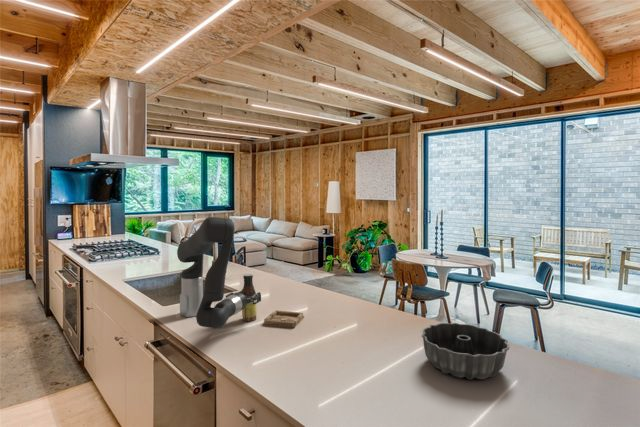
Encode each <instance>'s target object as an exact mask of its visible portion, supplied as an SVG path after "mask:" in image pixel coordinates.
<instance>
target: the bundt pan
mask: <svg viewBox="0 0 640 427" xmlns="http://www.w3.org/2000/svg"><path fill="white" fill-rule="evenodd" d="M421 337H422V340H423V348H424V354H425V356H426V358H427V360H428V361H429V362H430V363H431V364H432V366H433V367H435V368H437V369H438V370H441V372H442V373H443V374H446V375H448V373H449V374H451V375H452V376H453V377H455V378H464V377H465V378H466V379H467V380H469V381H471V380H473V379H476V380H477V379H478V380H484V379H487V378H493V377H496V376H497V375H498V374H499V372H500V371H501V370H502V369H503V367H504V364H505V360H506V358H507V357H506V356H507V352H508V351H509V350H510V344H509V343H508V339H505V338H503V336H502V335H501V334H500V333H497V332H495V331H492V330H489V329H488V328H485V327H479V326H476V325H473V324H467V323H459V322H458V323H457V322H452V323H448V322H441V323H436V324H430V325H428V327H425V328H423V329H422V334H421Z"/></svg>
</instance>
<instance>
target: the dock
mask: <svg viewBox="0 0 640 427" xmlns="http://www.w3.org/2000/svg"><path fill="white" fill-rule="evenodd" d="M304 318H305V315H304V312H296V311H287V310H275V311H272V312H271V313H270V314H269V315H268V316H266V317H265V318H264V319H263V324H262V325H263V326H269V327H270V326H271V327H279V328H287V329H290V328H291V329H295V328H296V327H297V326H298V325H299V324H300V323H301V322H302V320H304Z"/></svg>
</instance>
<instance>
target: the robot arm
mask: <svg viewBox="0 0 640 427" xmlns="http://www.w3.org/2000/svg"><path fill="white" fill-rule="evenodd" d="M234 236H235V223H234V221H233V219H232V218H230V217H229V218H228V217H218V216H217V217H216V216H208V217H206V218H204V220H203V221H202V223H201V224H200V226H199V228H198V229H197V230H196V231H194V233H193V234H191V236H189V237H188V238H187V239H186V240H185V241H182V242H181V243H179V245H178V247H177V250H176V255H177V259H178V260H179V261H180V262H181V263H193V264H192V265H191V266H189V267H187V268H185V269H183V270H181V274H180V275H181V277H180V278H181V280H180V281H181V285H180V286H181V293H179V315H180V316H183V317H185V318H191V317H195V319H196V323H197V325H199V326H200V327H204V328H210V329H217V330H218V329H221V328H223V327H224V326H226V323H227V322H228V320H229V318H231V317H232V316H234V315H237V314H238V313H239V312H242V309H244V308H245V306H246V305H247V304H248V303H252V302H253V304H256V305H257V304H258V303H260V302H262V293H261V292H259V291H258V292H257V293H256V294H254V295H253V294H248V295H246V294H245V295H243V294H242V290H240V291H236V292H230V293H228V294H227V295H225V283H226V274H227V269H228V264H229V261H230V258H231V257H230V256H231V251H232V246H233V240H234ZM217 243H218V244H221V249H220V251H219V254H218V256H217V257H216V259H215V261H214V262H213V263H212V264H211V266H210V268H209V269H208V270H207V273H206V275H205V278H204V277H203V273H204V255H205V254H206V253H207V252H210V250H212V248H213V247H214V246H215V244H217ZM203 278H204V280H203ZM203 281H204V282H203ZM203 284H204V285H203ZM224 296H225V298H224ZM249 296H250V297H249ZM254 296H255V297H254ZM216 302H217V303H216ZM213 303H216V304H215V305H214V307H212V304H213Z"/></svg>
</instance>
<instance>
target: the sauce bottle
mask: <svg viewBox="0 0 640 427" xmlns="http://www.w3.org/2000/svg"><path fill="white" fill-rule="evenodd" d="M253 275H254V274H252V273H246V274H244V275H242V276H243V288H242V289H241V291H242V294H243V295H245V294H246V295H248V294H253V295H254V294H257V293H256V289H255V286H254V283H253V282H254V281H253V278H254V276H253ZM249 297H250V296H249ZM254 297H255V296H254ZM241 313H242V321H245V322H252V321H255V320H257V304H253V302H252V303H248V304H247V305H246V306H245V308H244V309H242V310H241Z"/></svg>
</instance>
